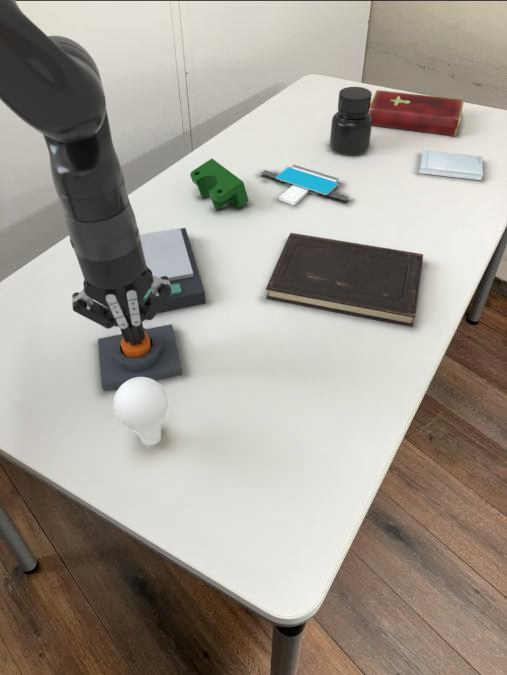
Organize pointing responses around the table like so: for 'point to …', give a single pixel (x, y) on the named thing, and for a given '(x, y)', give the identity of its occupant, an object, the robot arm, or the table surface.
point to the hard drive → (451, 165)
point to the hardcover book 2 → (416, 112)
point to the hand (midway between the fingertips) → (135, 340)
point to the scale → (173, 268)
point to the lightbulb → (141, 407)
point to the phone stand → (305, 184)
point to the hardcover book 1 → (347, 278)
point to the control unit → (139, 359)
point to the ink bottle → (352, 122)
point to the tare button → (136, 348)
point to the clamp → (219, 184)
